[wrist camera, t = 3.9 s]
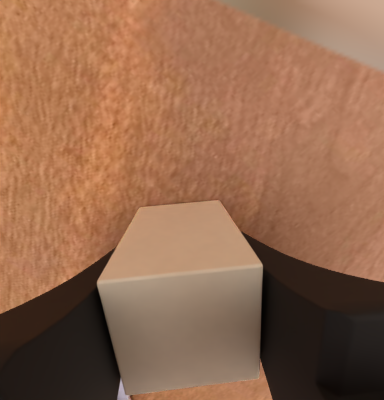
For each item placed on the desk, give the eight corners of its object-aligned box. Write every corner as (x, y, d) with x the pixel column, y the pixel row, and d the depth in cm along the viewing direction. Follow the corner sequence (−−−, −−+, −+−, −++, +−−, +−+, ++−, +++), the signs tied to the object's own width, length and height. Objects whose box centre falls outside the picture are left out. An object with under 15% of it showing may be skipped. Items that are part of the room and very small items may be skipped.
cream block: (150, 275, 12) (124, 397, 6) (138, 206, 11) (94, 282, 5) (222, 267, 12) (260, 380, 7) (219, 199, 11) (264, 264, 5)
